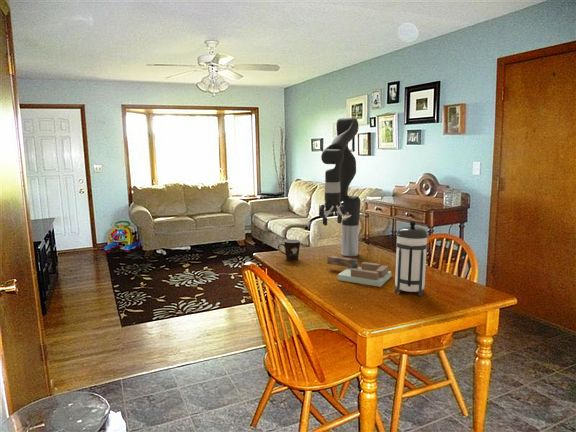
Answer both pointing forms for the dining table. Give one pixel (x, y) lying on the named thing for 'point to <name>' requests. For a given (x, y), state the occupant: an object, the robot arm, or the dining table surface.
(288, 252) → the coffee mug
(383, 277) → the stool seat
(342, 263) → the brown rectangular bar
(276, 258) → the dining table surface
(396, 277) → the coffee press
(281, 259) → the dining table surface
